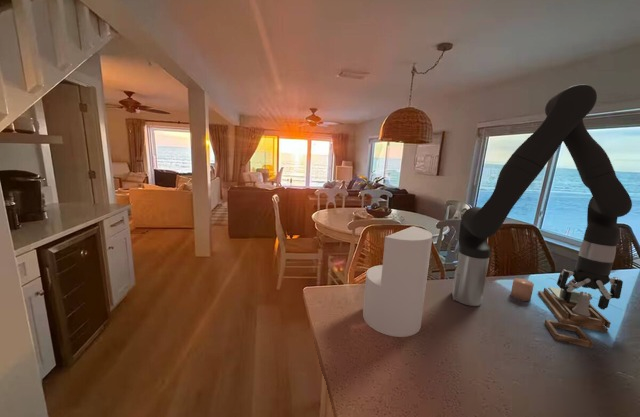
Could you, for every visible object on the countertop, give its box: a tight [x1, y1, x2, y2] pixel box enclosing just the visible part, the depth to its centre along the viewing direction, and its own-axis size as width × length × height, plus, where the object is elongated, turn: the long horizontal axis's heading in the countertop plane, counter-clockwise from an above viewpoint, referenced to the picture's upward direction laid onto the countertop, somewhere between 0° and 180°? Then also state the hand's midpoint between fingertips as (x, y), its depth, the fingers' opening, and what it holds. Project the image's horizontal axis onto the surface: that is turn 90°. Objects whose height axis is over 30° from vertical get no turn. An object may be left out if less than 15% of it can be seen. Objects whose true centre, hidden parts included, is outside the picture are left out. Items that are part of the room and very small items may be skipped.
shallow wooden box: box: [537, 287, 611, 334], centre depth 89 cm, size 12×20×3 cm, turn 157°
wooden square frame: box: [544, 318, 594, 349], centre depth 77 cm, size 8×8×2 cm
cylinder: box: [362, 225, 433, 338], centre depth 79 cm, size 17×17×28 cm
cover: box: [547, 286, 592, 305], centre depth 92 cm, size 8×8×4 cm
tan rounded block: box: [510, 277, 535, 302], centre depth 97 cm, size 6×6×6 cm
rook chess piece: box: [571, 290, 593, 317], centre depth 84 cm, size 4×4×8 cm
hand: (583, 304), depth 84 cm, fingers open, 8 cm apart
